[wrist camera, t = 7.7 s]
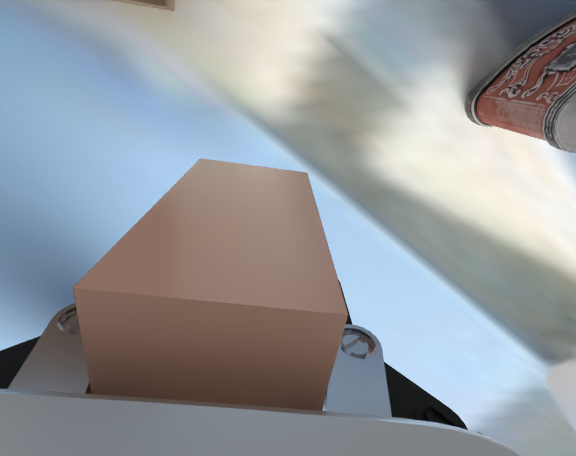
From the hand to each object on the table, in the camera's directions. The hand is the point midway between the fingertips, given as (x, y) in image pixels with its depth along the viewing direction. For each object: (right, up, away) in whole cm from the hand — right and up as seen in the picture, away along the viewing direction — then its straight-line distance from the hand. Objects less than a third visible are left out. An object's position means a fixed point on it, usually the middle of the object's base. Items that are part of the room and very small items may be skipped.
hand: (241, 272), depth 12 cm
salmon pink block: (0, +1, +2) cm, 2 cm away
